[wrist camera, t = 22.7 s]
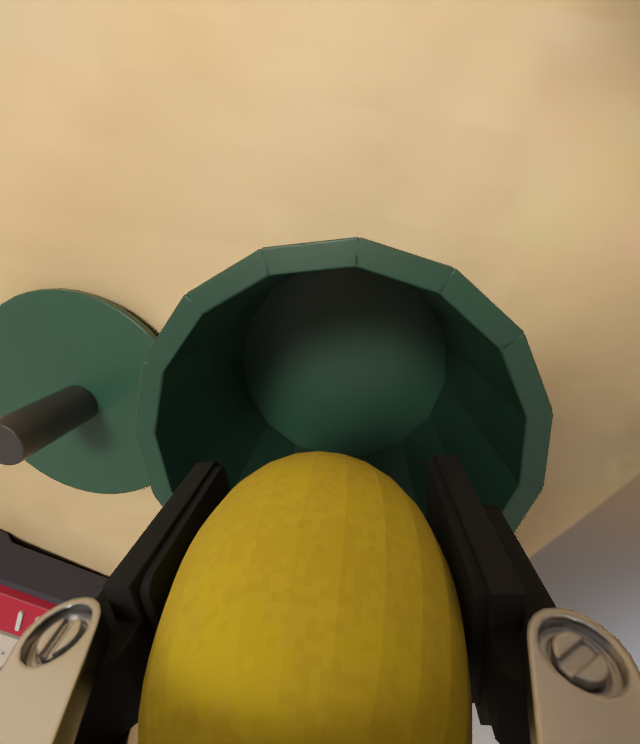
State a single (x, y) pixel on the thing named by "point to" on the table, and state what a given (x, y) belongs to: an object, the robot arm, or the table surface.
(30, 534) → the table surface
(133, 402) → the tin lid
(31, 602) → the grey red flat block
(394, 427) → the tin
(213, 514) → the lemon
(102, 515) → the table surface
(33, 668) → the robot arm
